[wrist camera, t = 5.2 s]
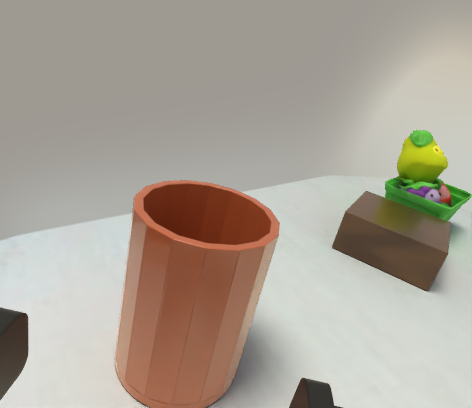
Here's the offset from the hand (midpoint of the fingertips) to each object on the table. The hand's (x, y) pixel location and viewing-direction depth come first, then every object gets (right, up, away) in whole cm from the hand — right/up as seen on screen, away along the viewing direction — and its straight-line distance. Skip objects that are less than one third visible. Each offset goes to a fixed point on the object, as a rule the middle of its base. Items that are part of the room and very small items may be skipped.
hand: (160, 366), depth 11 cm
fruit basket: (+24, +2, +37) cm, 44 cm away
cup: (-1, -4, +9) cm, 10 cm away
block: (+17, 0, +27) cm, 32 cm away
